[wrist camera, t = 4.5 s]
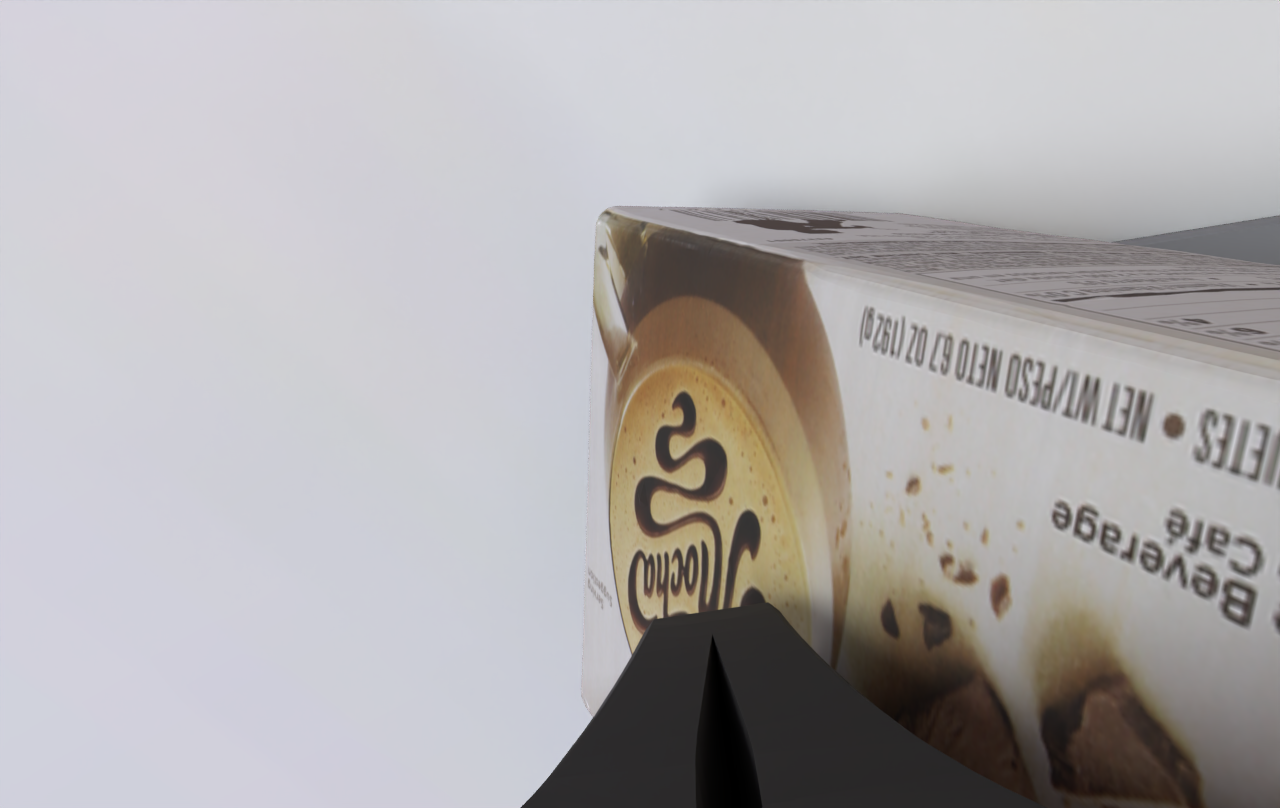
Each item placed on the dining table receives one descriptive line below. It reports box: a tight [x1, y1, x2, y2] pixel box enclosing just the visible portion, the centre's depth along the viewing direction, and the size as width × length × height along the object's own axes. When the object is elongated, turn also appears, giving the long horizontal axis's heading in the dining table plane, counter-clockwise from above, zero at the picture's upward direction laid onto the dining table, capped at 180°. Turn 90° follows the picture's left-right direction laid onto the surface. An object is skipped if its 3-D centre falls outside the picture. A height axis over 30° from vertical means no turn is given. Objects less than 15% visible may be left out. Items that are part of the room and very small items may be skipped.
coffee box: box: [581, 206, 1280, 808], centre depth 11 cm, size 9×6×16 cm
